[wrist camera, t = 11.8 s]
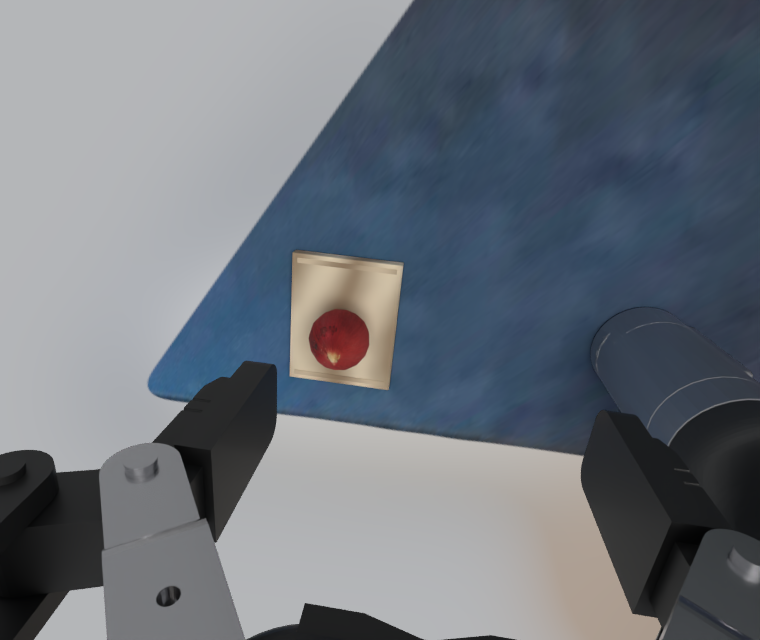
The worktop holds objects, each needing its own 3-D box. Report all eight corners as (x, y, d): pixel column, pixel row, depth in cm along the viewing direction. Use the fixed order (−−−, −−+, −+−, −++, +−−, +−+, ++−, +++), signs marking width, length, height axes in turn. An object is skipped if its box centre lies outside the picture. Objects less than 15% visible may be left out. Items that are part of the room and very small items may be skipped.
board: (403, 262, 47) (402, 266, 46) (389, 384, 53) (388, 390, 52) (296, 249, 48) (292, 252, 47) (292, 371, 53) (289, 376, 52)
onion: (312, 338, 50) (290, 374, 43) (327, 290, 48) (307, 319, 41) (363, 357, 51) (350, 396, 43) (381, 310, 48) (371, 342, 41)
